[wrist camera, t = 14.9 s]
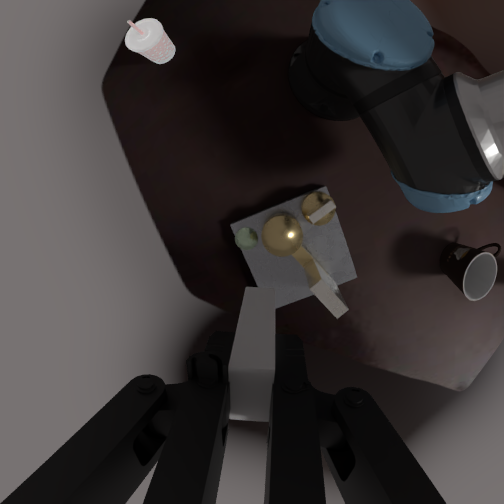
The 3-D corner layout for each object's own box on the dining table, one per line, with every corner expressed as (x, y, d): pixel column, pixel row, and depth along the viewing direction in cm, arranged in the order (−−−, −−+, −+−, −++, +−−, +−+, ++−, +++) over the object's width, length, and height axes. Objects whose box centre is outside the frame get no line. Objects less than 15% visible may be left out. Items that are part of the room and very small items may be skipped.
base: (230, 223, 47) (223, 232, 40) (323, 185, 44) (332, 188, 38) (267, 305, 51) (266, 326, 44) (354, 273, 48) (365, 289, 41)
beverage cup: (185, 55, 39) (155, 22, 26) (154, 73, 40) (115, 47, 27) (172, 32, 38) (141, -3, 24) (142, 50, 39) (104, 21, 26)
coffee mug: (435, 284, 48) (460, 306, 38) (435, 241, 45) (464, 258, 36) (477, 271, 46) (504, 289, 36) (478, 231, 44) (508, 244, 34)
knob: (254, 231, 45) (248, 248, 35) (282, 204, 43) (285, 215, 34) (316, 296, 47) (325, 327, 37) (343, 273, 46) (360, 300, 36)
